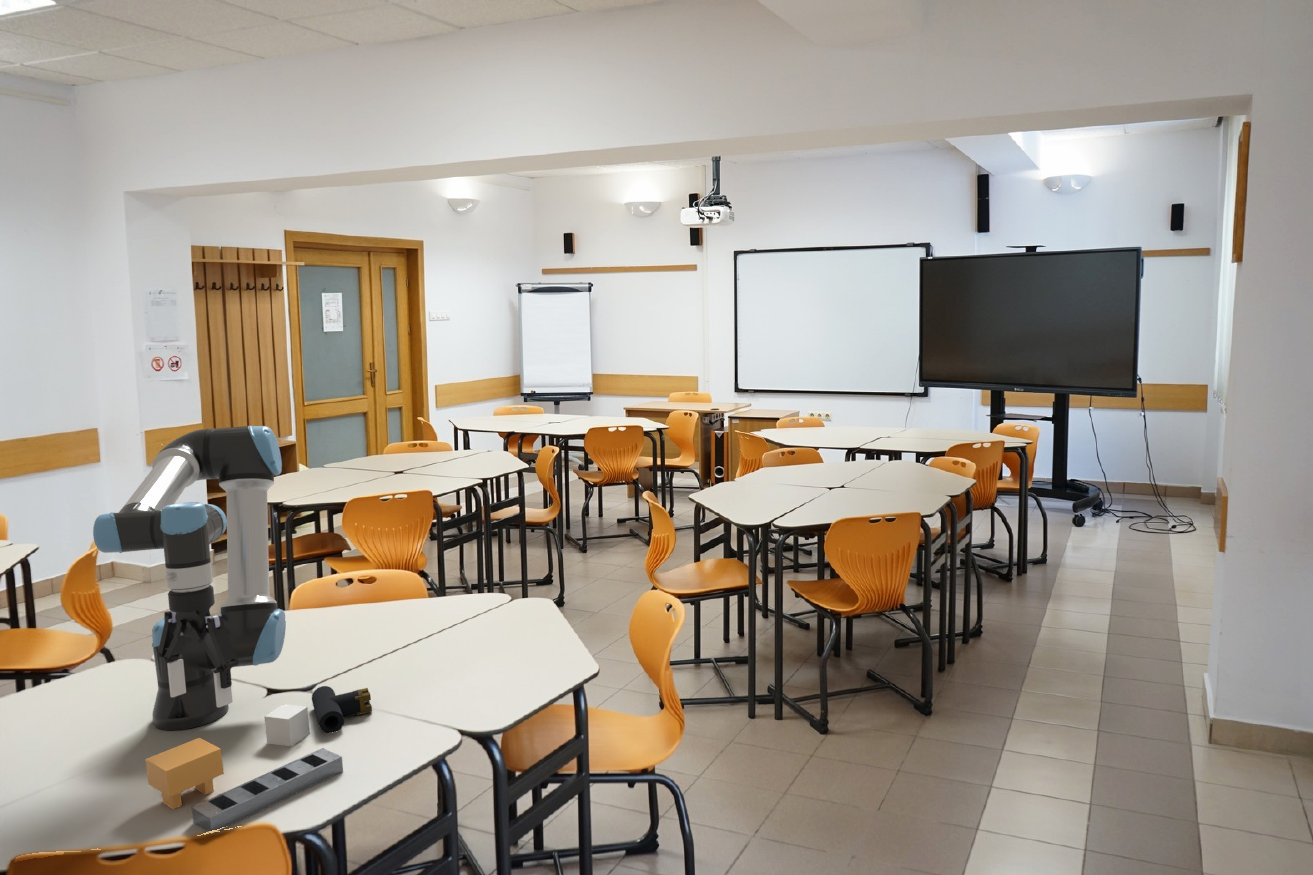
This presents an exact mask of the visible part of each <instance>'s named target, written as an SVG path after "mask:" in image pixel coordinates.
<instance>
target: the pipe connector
mask: <svg viewBox="0 0 1313 875" xmlns="http://www.w3.org/2000/svg"><path fill="white" fill-rule="evenodd" d="M371 696H372V695H371V693H370V691H369V689H368V687H364V688H359V689H356V690H352V691H350V692H345V693H340V694H336V692H335V691H334V689H333V688H332V687H330V686H328V685H323V686H318V687H317V688H316V689H315V690H314V691H313V692H312V695H311V702H312V706H313V709H314V712H315V716H316V718H317V723H318V726H319V729H320V731H321V732H322V733H324V734H326V735H327V734H333V733H337V732H336V731H338V732H339V731H340V730H341V729H343V726H344V724H345V718H347V717H351V716H356V715H357V716H359V715H363V714H367V713H372V712H373V707H372V706H373V705H372V704H371V699H372V698H371ZM332 732H333V733H332Z"/></svg>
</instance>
